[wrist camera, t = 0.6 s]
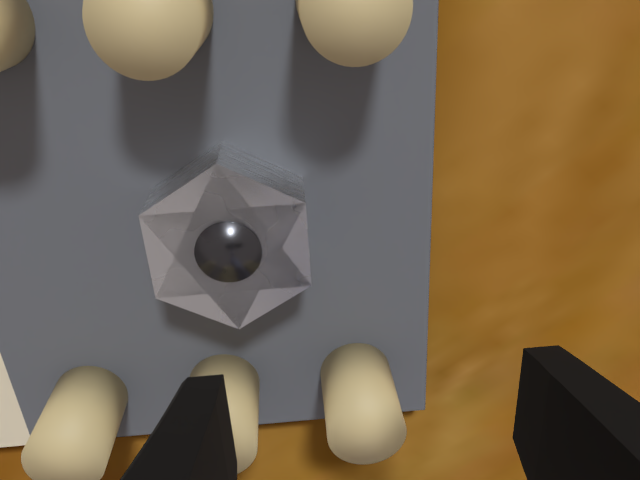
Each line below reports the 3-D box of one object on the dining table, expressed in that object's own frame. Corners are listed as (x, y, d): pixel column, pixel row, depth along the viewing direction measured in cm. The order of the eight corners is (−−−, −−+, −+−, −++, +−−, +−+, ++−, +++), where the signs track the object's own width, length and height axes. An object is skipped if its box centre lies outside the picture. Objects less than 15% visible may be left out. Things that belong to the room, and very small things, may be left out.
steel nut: (310, 287, 19) (314, 324, 17) (173, 298, 19) (162, 336, 17) (299, 134, 17) (302, 158, 15) (144, 146, 17) (128, 170, 15)
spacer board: (418, 391, 22) (446, 475, 19) (-152, 441, 22) (-237, 539, 18) (431, -94, 15) (479, -108, 12) (-417, -45, 14) (-644, -45, 11)
